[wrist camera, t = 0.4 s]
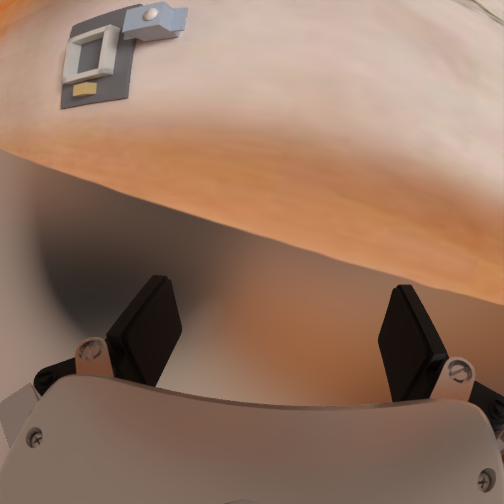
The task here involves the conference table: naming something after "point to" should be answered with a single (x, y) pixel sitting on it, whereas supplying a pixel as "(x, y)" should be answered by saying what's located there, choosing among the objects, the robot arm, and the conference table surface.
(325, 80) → the conference table surface
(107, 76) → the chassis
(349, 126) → the conference table surface
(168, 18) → the block
